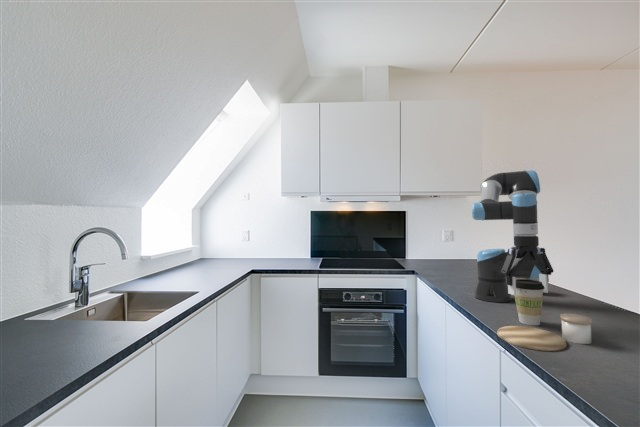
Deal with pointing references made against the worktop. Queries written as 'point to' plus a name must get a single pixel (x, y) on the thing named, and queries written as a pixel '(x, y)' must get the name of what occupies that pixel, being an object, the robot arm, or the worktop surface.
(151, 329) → the worktop surface
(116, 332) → the worktop surface
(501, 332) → the round wooden board
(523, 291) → the coffee cup
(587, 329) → the sugar jar
